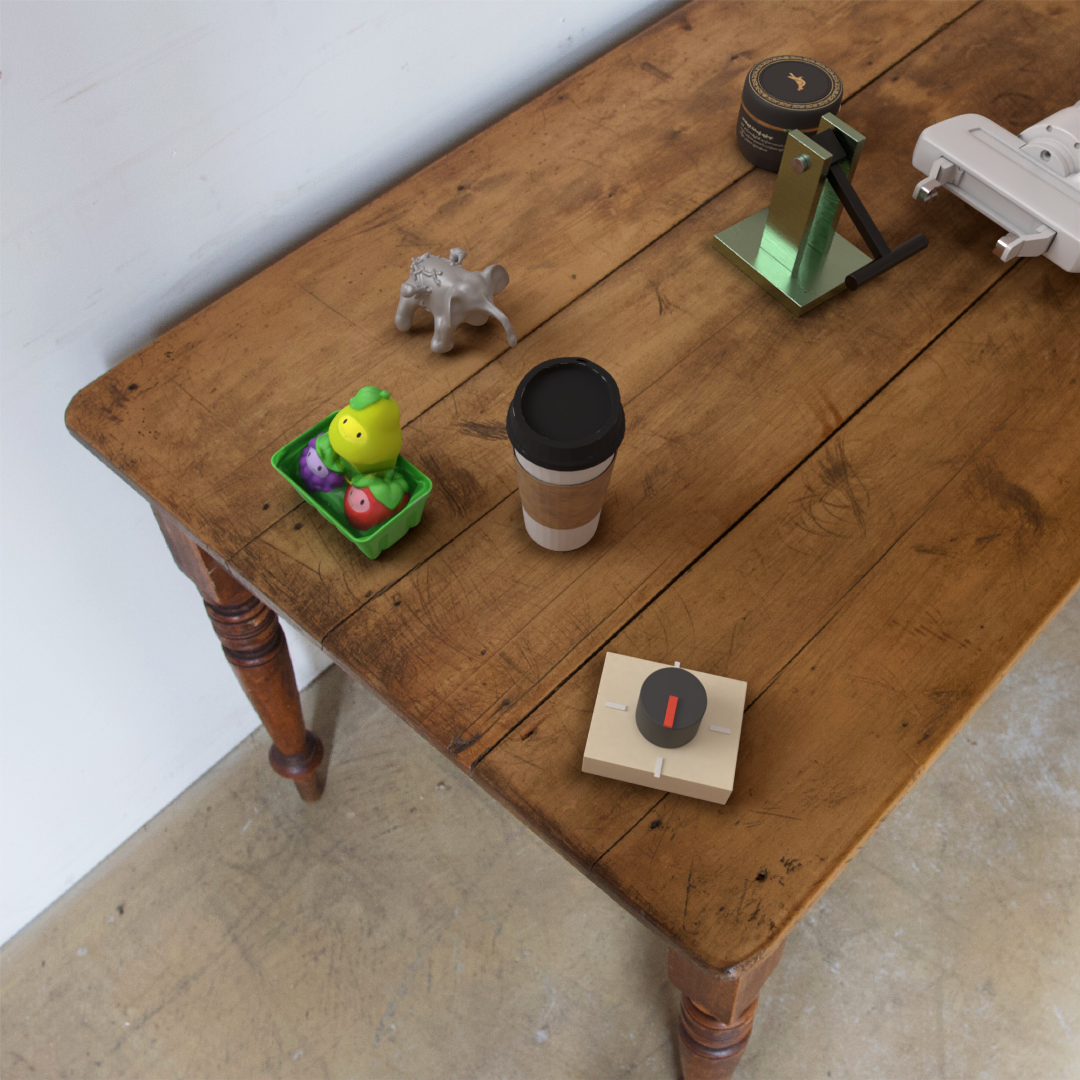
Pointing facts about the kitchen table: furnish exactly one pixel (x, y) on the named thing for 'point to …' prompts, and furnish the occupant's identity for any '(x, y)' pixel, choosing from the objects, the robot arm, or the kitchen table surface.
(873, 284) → the kitchen table surface
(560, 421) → the coffee cup
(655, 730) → the knob
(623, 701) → the panel
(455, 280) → the gray elephant figurine
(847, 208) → the black lever handle
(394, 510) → the fruit basket
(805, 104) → the jar
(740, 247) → the green metal lever stand
